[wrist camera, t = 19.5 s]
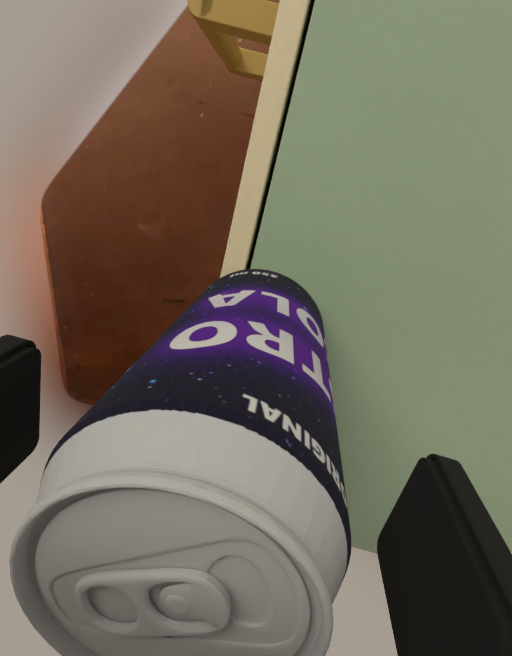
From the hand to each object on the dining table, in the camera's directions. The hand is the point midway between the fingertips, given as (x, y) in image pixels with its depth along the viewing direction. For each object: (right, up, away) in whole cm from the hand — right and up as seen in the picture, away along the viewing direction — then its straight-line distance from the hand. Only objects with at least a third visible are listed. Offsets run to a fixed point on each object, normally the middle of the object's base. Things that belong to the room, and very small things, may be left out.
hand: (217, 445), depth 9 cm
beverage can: (+1, +3, +8) cm, 8 cm away
